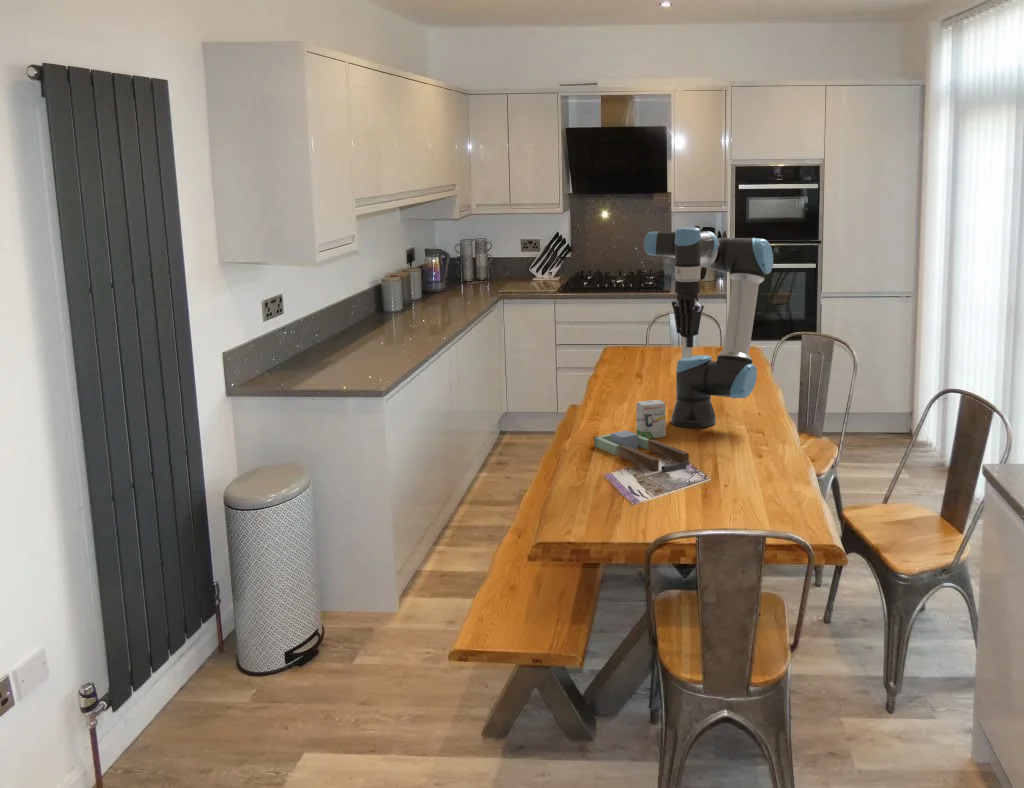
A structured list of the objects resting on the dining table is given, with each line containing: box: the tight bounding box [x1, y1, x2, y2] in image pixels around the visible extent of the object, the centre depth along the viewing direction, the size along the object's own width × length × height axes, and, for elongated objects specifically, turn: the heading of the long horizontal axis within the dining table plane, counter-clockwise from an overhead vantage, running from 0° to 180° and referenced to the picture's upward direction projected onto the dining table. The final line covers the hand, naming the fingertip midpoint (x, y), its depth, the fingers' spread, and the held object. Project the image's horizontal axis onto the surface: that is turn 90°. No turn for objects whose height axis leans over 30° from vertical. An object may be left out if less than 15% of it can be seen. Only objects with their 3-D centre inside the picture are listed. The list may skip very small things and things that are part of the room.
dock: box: [593, 433, 651, 456], centre depth 322 cm, size 13×12×3 cm
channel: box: [618, 439, 690, 473], centre depth 307 cm, size 13×18×4 cm
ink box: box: [636, 399, 667, 440], centre depth 333 cm, size 9×5×12 cm, turn 105°
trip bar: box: [661, 462, 688, 473], centre depth 298 cm, size 8×2×2 cm, turn 117°
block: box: [610, 430, 639, 450], centre depth 321 cm, size 6×6×5 cm
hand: (687, 357), depth 307 cm, fingers closed
